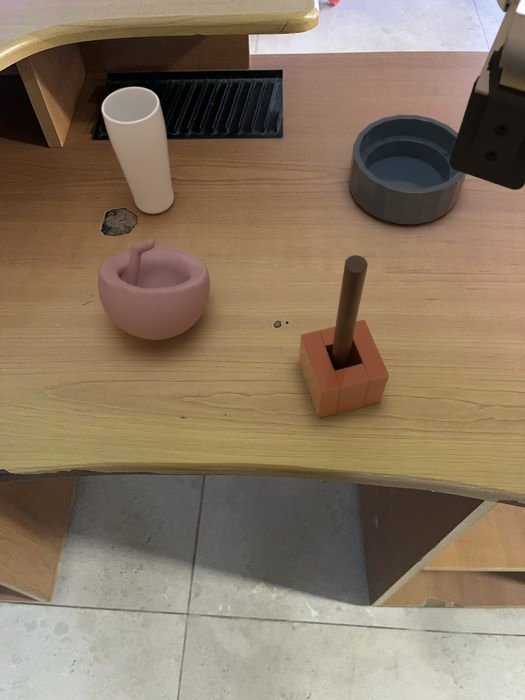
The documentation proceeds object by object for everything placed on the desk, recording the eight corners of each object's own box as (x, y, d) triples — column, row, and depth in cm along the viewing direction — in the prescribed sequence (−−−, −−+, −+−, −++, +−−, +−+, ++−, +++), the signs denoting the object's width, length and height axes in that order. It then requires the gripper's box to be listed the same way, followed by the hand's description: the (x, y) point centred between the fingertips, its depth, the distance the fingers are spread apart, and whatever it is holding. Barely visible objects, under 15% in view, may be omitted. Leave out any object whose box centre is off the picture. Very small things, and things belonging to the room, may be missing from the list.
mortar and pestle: (225, 283, 70) (216, 217, 60) (200, 367, 64) (185, 309, 54) (132, 269, 71) (108, 202, 62) (99, 350, 65) (67, 290, 56)
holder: (358, 348, 65) (364, 318, 59) (380, 402, 61) (389, 375, 56) (298, 363, 64) (300, 334, 59) (318, 418, 60) (321, 392, 55)
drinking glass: (189, 205, 77) (170, 108, 64) (145, 227, 75) (117, 131, 62) (164, 177, 80) (142, 78, 67) (121, 197, 78) (90, 100, 65)
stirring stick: (340, 372, 63) (363, 252, 46) (346, 385, 62) (370, 269, 45) (325, 375, 63) (341, 257, 46) (330, 389, 62) (349, 274, 45)
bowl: (431, 142, 82) (441, 105, 77) (476, 214, 75) (490, 178, 69) (334, 162, 80) (338, 126, 75) (370, 237, 73) (377, 203, 68)
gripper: (1113, -622, 7) (548, 269, 22) (1014, -629, 14) (644, 37, 29) (507, -594, 9) (367, 201, 24) (695, -612, 17) (500, 1, 31)
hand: (520, 110), depth 26 cm, fingers open, 9 cm apart
